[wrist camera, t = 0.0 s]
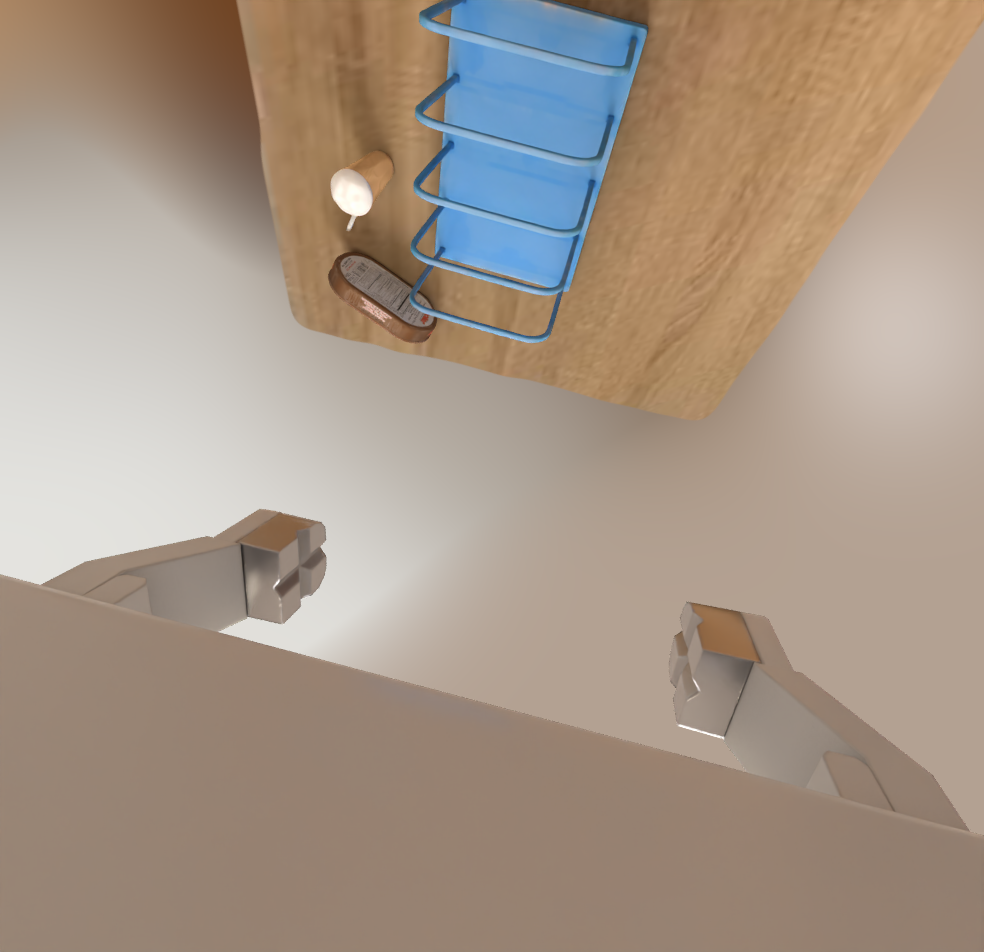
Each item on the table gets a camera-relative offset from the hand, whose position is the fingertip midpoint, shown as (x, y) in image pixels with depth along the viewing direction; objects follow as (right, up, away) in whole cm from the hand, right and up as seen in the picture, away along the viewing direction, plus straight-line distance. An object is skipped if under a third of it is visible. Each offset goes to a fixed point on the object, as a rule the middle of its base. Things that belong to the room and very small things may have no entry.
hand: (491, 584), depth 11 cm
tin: (-13, +29, +58) cm, 66 cm away
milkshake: (-13, +38, +47) cm, 62 cm away
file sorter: (+4, +37, +42) cm, 56 cm away
